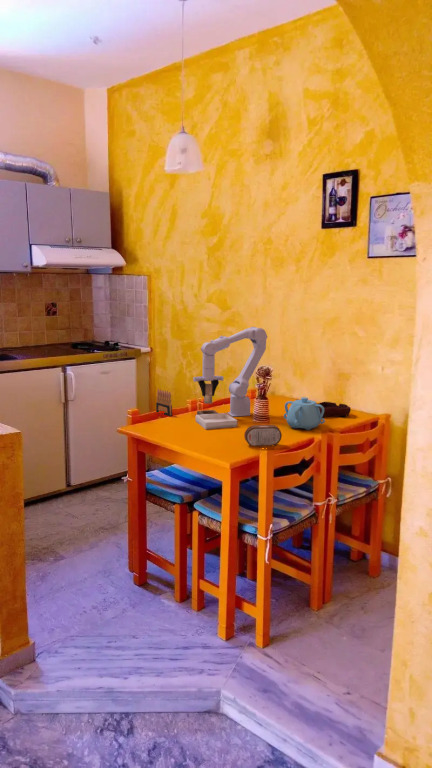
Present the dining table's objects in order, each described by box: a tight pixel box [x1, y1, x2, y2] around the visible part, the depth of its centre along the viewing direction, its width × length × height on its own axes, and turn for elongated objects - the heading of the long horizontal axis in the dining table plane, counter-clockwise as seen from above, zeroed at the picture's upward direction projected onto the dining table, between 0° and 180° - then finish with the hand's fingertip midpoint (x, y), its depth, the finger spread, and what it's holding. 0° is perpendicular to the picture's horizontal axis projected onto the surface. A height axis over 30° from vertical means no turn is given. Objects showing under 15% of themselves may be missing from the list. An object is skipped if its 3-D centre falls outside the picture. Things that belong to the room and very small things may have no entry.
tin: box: [243, 424, 283, 447], centre depth 236 cm, size 15×3×8 cm, turn 99°
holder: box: [196, 409, 218, 415], centre depth 284 cm, size 8×8×2 cm
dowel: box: [203, 383, 213, 405], centre depth 281 cm, size 4×4×9 cm
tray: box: [195, 412, 238, 430], centre depth 269 cm, size 15×15×3 cm
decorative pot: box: [283, 396, 326, 431], centre depth 265 cm, size 16×16×14 cm
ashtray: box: [317, 401, 351, 418], centre depth 290 cm, size 18×16×5 cm
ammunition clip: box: [155, 388, 173, 417], centre depth 287 cm, size 11×2×12 cm, turn 43°
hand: (208, 395), depth 281 cm, fingers closed on dowel, 4 cm apart
